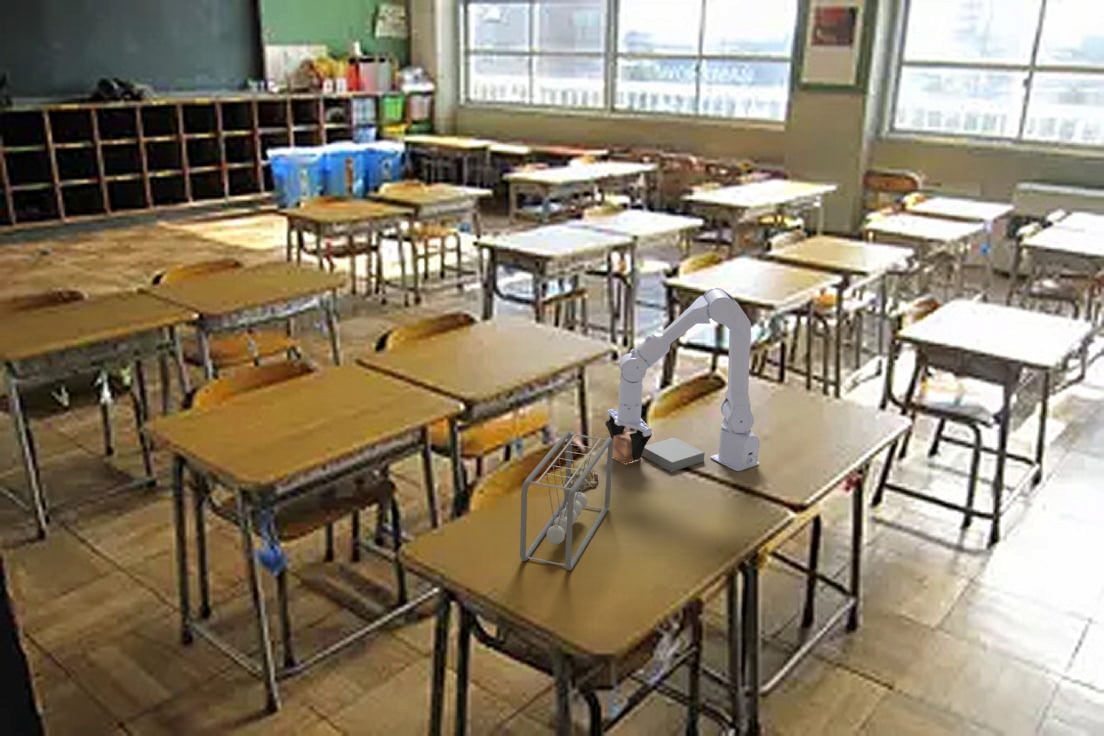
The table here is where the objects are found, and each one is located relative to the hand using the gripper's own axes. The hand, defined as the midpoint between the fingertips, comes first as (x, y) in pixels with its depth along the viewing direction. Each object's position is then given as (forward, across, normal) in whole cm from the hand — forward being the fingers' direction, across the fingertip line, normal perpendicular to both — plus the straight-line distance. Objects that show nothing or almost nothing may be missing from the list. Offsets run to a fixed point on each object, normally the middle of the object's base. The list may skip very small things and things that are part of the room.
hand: (626, 453), depth 231 cm
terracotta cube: (+2, 0, 0) cm, 2 cm away
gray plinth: (+2, +6, +10) cm, 12 cm away
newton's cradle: (+2, +22, -35) cm, 41 cm away
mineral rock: (+2, +5, -18) cm, 19 cm away
